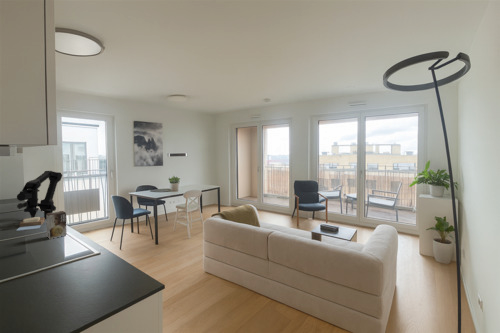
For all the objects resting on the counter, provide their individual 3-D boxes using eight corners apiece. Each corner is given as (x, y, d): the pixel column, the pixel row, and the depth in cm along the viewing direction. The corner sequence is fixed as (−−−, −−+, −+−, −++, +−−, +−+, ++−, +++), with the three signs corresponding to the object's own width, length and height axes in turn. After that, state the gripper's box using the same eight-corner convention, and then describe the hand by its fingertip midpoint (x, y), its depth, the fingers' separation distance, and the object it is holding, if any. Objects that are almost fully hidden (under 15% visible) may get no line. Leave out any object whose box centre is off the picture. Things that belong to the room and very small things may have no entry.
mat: (19, 227, 171) (19, 227, 171) (41, 225, 177) (41, 225, 177) (16, 231, 164) (16, 230, 164) (38, 228, 171) (38, 228, 171)
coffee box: (63, 233, 162) (62, 210, 161) (66, 235, 159) (66, 212, 158) (46, 237, 155) (45, 213, 154) (49, 239, 151) (49, 214, 150)
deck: (24, 222, 182) (24, 219, 182) (44, 221, 188) (44, 217, 188) (19, 227, 171) (19, 223, 171) (41, 225, 177) (41, 221, 177)
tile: (25, 220, 178) (25, 218, 178) (39, 219, 182) (39, 216, 182) (23, 222, 173) (23, 220, 173) (38, 221, 177) (37, 218, 177)
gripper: (21, 196, 183) (22, 216, 184) (14, 201, 168) (14, 223, 168) (40, 195, 189) (40, 215, 190) (35, 200, 173) (35, 221, 174)
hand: (32, 218), depth 181 cm, fingers closed
